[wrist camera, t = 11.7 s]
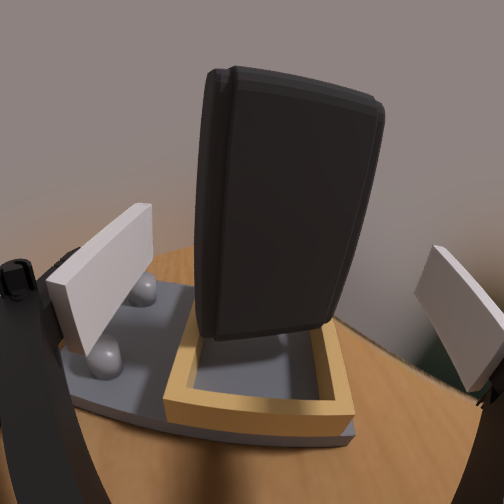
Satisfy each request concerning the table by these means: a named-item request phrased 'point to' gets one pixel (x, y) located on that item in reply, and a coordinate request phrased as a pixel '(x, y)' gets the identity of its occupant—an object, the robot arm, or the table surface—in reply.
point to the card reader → (278, 199)
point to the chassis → (212, 376)
